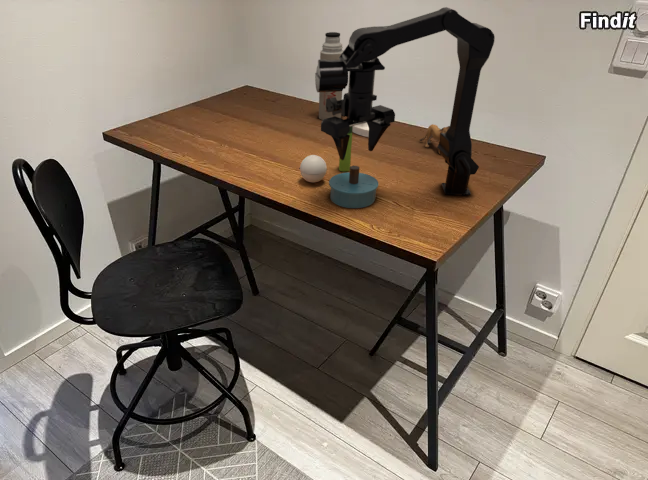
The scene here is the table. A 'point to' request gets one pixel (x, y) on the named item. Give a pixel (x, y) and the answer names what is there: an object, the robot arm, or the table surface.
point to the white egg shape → (313, 168)
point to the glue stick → (345, 164)
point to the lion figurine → (434, 134)
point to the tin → (352, 199)
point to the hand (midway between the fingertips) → (356, 155)
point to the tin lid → (353, 182)
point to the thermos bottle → (330, 52)
